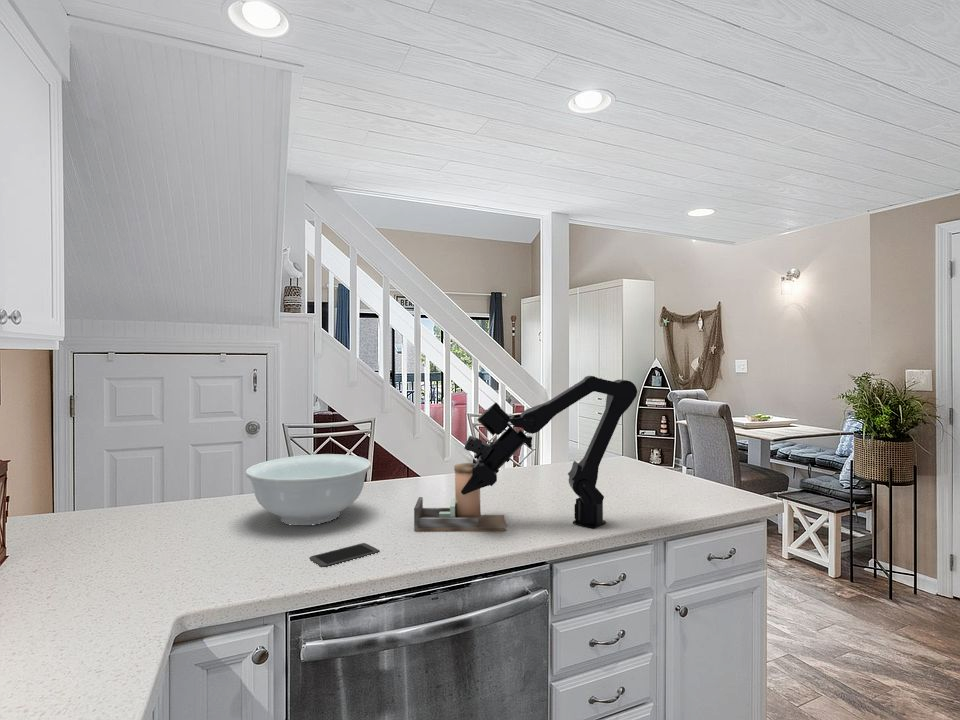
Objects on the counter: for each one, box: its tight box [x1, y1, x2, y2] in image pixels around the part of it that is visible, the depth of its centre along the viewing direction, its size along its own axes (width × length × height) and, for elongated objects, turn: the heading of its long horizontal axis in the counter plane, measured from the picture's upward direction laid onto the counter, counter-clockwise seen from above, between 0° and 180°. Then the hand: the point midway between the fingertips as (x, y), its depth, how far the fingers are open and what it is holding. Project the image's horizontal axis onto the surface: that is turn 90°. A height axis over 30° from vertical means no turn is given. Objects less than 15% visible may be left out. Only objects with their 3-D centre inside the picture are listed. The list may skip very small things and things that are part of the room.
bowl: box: [245, 453, 372, 526], centre depth 148 cm, size 32×32×15 cm
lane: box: [413, 496, 507, 532], centre depth 141 cm, size 23×11×6 cm, turn 90°
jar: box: [453, 462, 482, 518], centre depth 141 cm, size 7×7×13 cm
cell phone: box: [309, 542, 381, 568], centre depth 120 cm, size 7×14×1 cm, turn 131°
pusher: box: [439, 498, 456, 518], centre depth 141 cm, size 4×7×5 cm, turn 0°
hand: (462, 490), depth 141 cm, fingers closed on jar, 6 cm apart
